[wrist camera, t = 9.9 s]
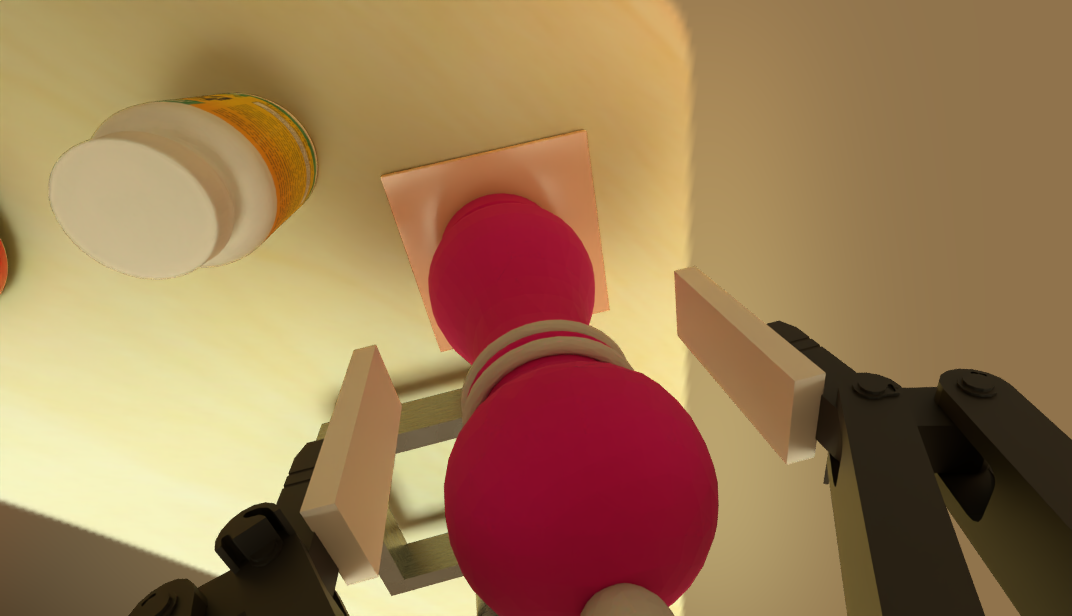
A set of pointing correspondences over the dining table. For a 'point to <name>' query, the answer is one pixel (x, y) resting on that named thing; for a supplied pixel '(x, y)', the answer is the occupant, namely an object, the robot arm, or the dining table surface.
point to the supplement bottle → (183, 183)
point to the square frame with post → (399, 560)
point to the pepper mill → (560, 432)
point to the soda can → (3, 266)
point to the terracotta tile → (525, 170)
